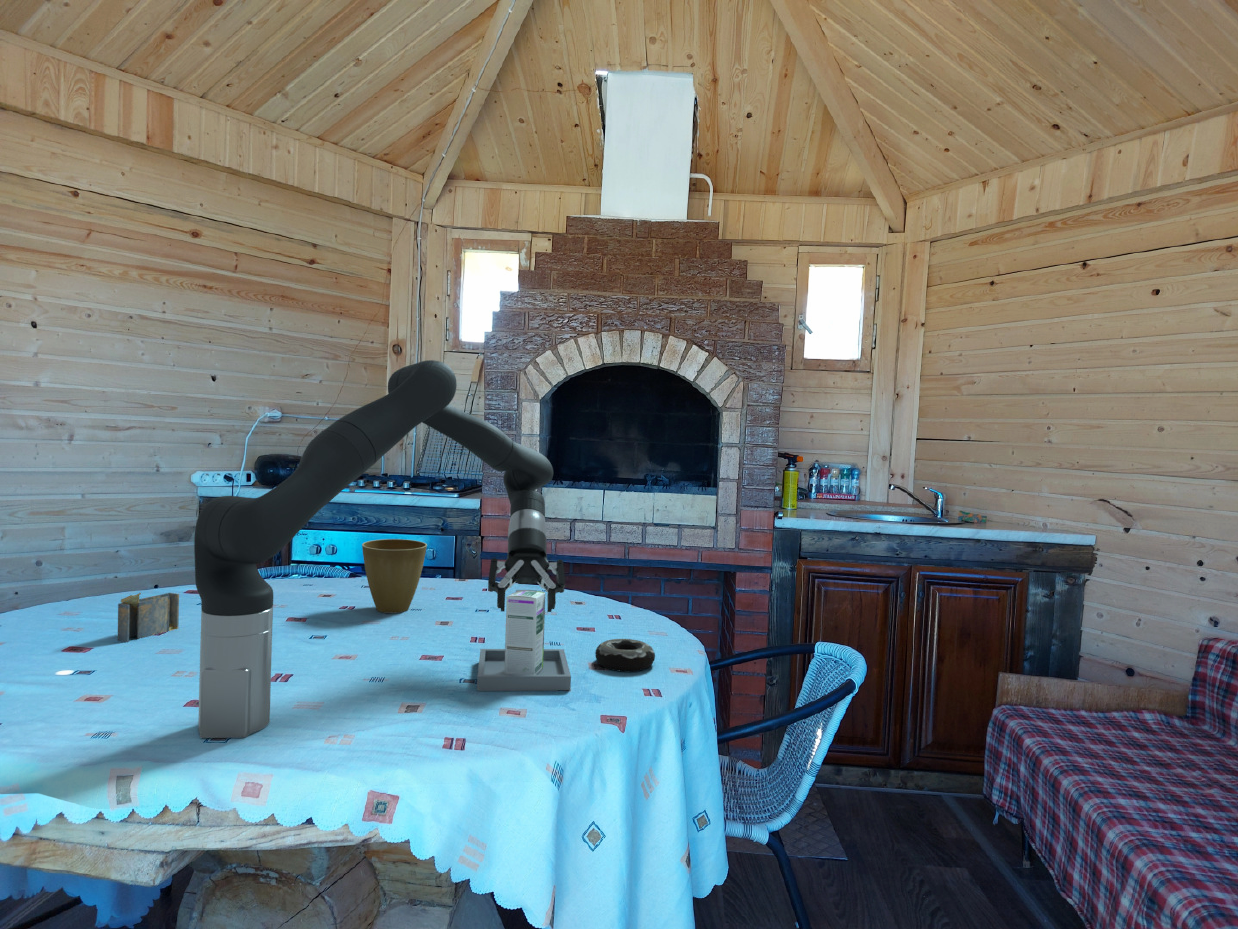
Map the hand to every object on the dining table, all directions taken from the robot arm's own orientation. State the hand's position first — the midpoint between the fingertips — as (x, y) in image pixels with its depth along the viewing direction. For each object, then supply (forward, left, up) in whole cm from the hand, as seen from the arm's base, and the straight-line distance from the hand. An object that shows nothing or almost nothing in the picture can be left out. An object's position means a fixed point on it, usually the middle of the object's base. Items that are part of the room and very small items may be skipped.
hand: (526, 609), depth 136 cm
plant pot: (+48, +30, -12) cm, 58 cm away
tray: (0, 0, -12) cm, 12 cm away
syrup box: (-1, 0, -12) cm, 11 cm away
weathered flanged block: (+25, +74, -13) cm, 79 cm away
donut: (+7, -20, -13) cm, 24 cm away
